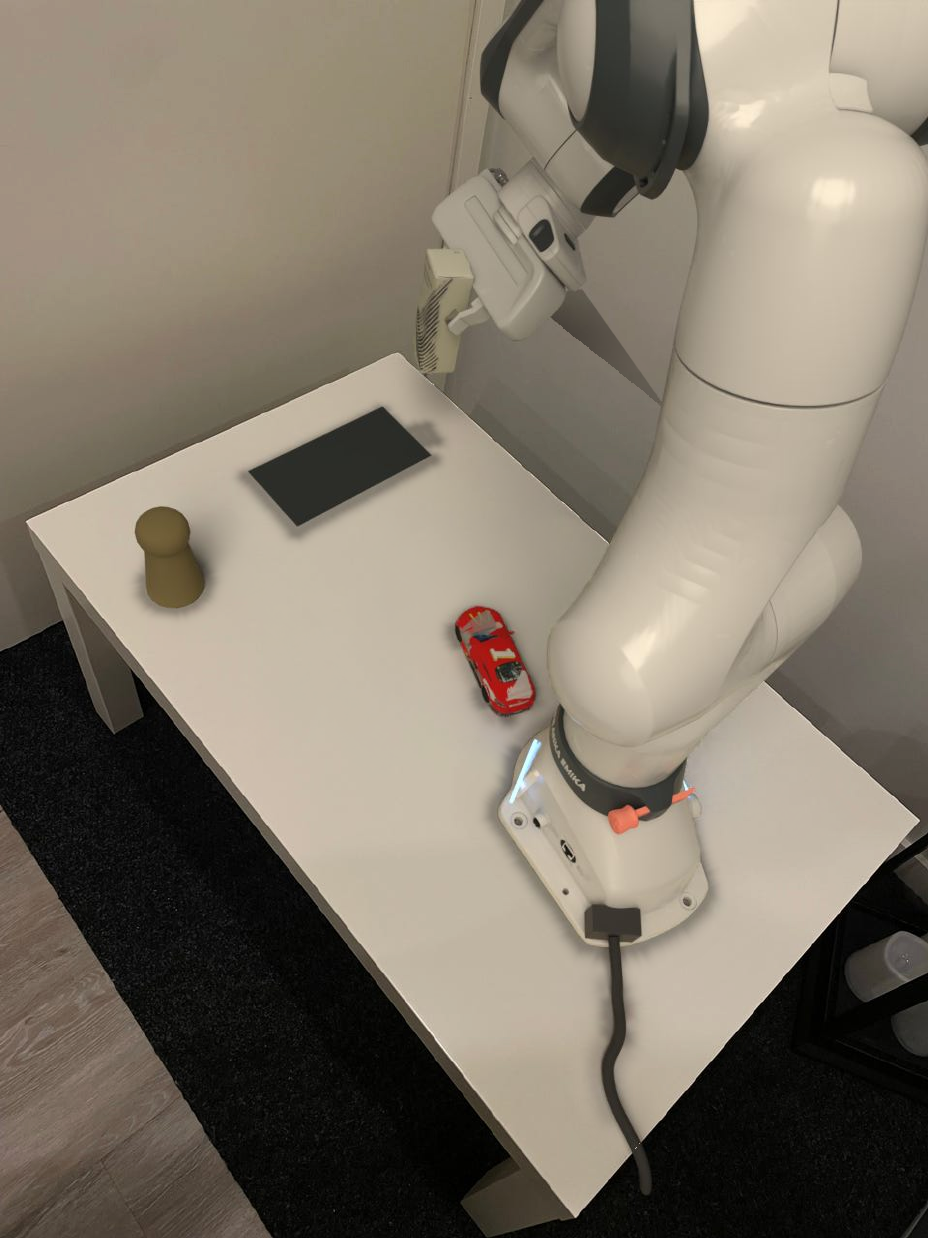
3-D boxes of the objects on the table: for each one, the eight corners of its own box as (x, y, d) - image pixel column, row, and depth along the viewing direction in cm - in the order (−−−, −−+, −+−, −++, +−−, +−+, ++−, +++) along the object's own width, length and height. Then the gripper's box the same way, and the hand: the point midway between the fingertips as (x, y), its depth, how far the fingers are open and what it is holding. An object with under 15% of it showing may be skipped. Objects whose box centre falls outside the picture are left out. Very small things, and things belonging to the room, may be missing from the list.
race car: (447, 620, 96) (452, 600, 93) (492, 609, 98) (498, 589, 94) (490, 724, 90) (497, 706, 86) (537, 711, 91) (546, 693, 88)
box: (410, 346, 101) (424, 245, 91) (446, 345, 103) (464, 246, 92) (419, 376, 99) (435, 275, 88) (456, 375, 100) (476, 276, 89)
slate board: (297, 532, 99) (297, 526, 99) (248, 476, 103) (247, 470, 102) (431, 460, 108) (432, 454, 107) (381, 411, 112) (382, 405, 111)
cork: (210, 566, 95) (199, 502, 86) (196, 612, 92) (183, 550, 83) (155, 557, 95) (138, 492, 86) (138, 603, 91) (118, 539, 82)
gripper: (480, 141, 92) (387, 235, 97) (565, 259, 83) (457, 357, 88) (510, 177, 97) (421, 265, 102) (593, 292, 88) (490, 383, 93)
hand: (438, 308), depth 95 cm, fingers closed on box, 5 cm apart
